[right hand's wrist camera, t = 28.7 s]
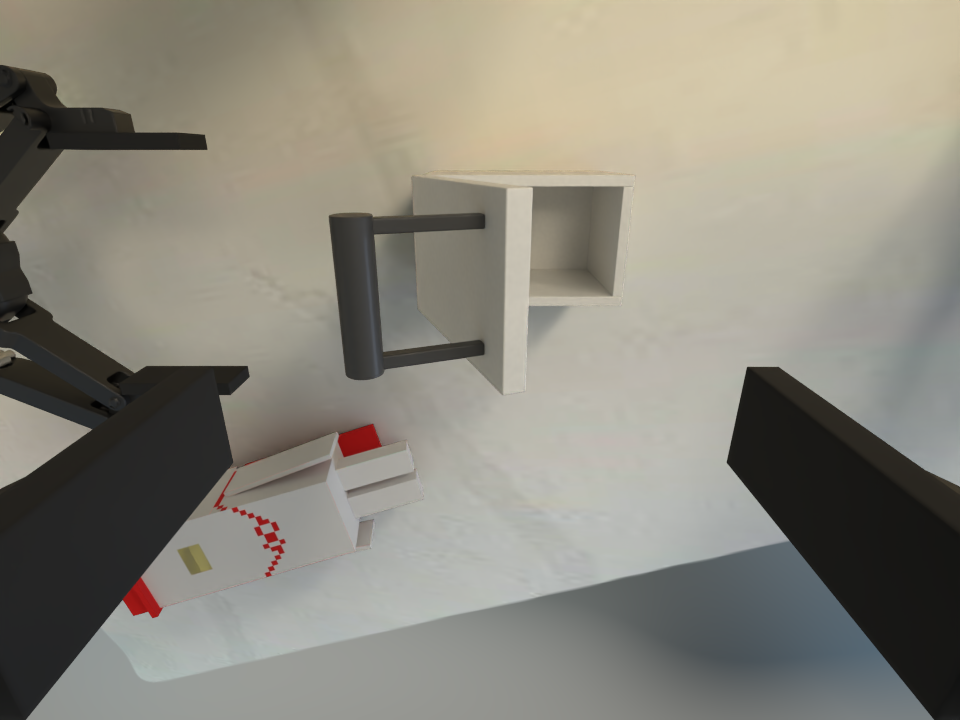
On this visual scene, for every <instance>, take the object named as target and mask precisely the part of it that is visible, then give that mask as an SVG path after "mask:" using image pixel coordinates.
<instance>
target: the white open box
mask: <svg viewBox="0 0 960 720" xmlns="http://www.w3.org/2000/svg"><path fill="white" fill-rule="evenodd" d="M423 175H430V176H439V177H448V178H456V179H465V180H474V181H483V182H491V183H500V184H509V185H517V186H526V187H532V188H533V199H532V226H531V252H530V279H529V306H621V304H622V295H623V286H624V277H625V268H626V258H627V249H628V240H629V231H630V221H631V212H632V203H633V193H634V184H635V175H630V174H622V173H613V172H605V171H433V172H430V173H427V174H423Z"/></svg>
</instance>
